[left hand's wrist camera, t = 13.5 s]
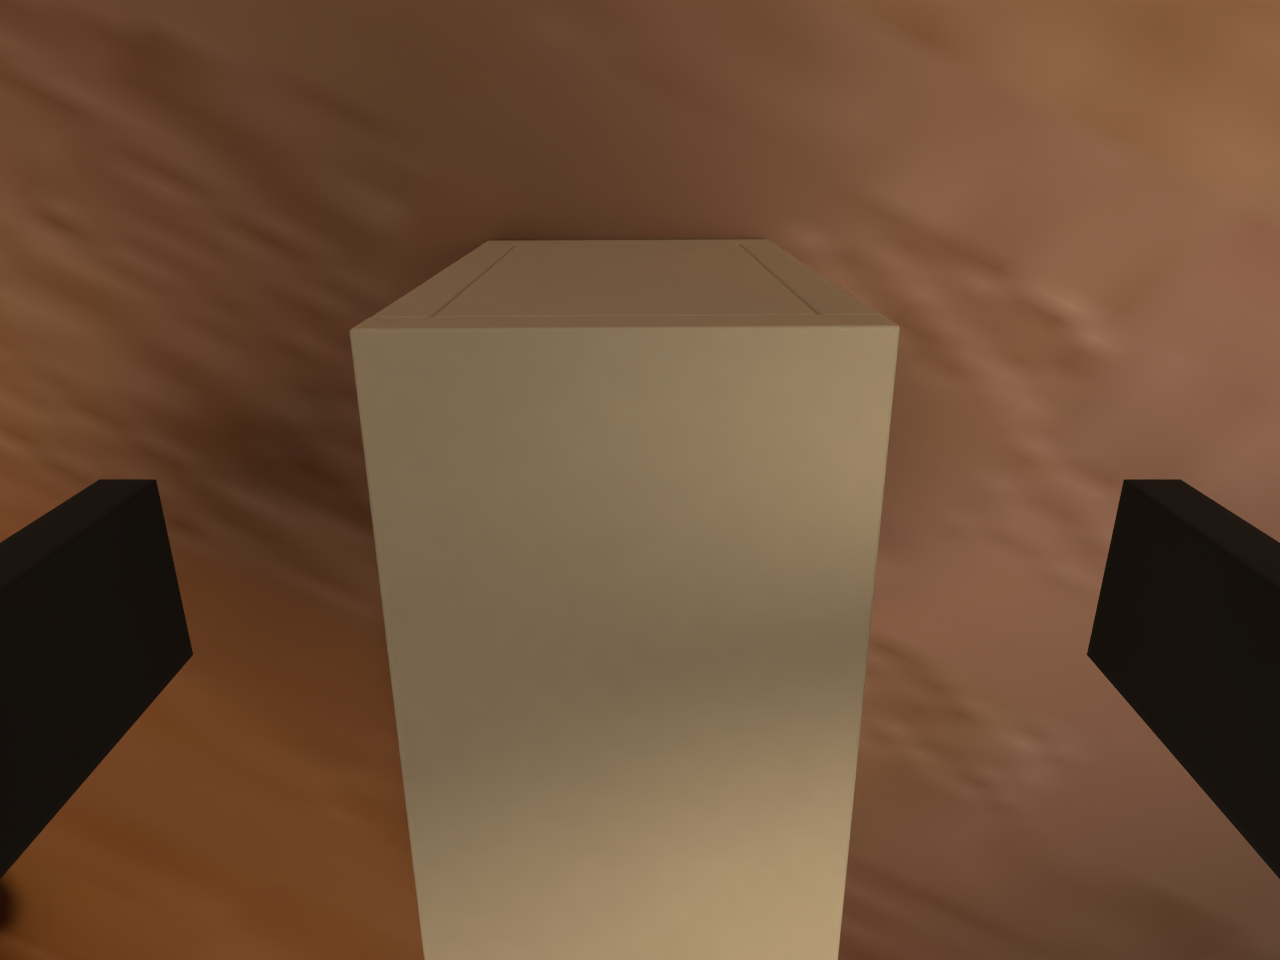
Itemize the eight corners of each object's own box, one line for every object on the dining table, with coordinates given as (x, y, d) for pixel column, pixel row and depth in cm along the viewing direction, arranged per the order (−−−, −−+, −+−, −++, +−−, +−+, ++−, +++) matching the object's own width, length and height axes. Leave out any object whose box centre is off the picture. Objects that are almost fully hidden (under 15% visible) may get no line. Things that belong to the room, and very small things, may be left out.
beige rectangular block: (743, 822, 27) (811, 1234, 17) (522, 825, 27) (456, 1238, 17) (769, 238, 21) (901, 325, 11) (486, 240, 21) (347, 329, 11)
